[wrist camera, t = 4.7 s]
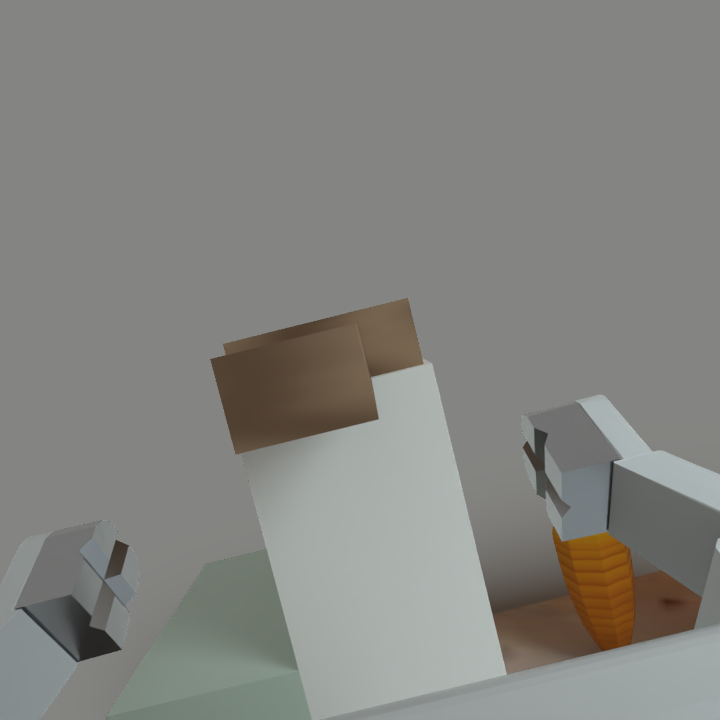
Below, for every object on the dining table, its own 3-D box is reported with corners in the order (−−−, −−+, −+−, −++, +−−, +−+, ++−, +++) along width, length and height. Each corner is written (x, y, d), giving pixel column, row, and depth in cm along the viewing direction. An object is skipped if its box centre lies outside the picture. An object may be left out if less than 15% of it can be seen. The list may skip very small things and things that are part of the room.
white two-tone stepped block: (500, 748, 34) (403, 348, 32) (587, 1010, 21) (432, 363, 19) (270, 801, 34) (163, 407, 33) (215, 1093, 21) (31, 462, 20)
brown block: (404, 352, 29) (393, 306, 29) (475, 395, 11) (446, 273, 11) (277, 383, 29) (266, 338, 29) (140, 477, 11) (108, 359, 11)
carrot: (592, 691, 37) (543, 481, 36) (574, 645, 42) (531, 460, 41) (668, 681, 36) (621, 466, 35) (641, 636, 41) (599, 446, 40)
